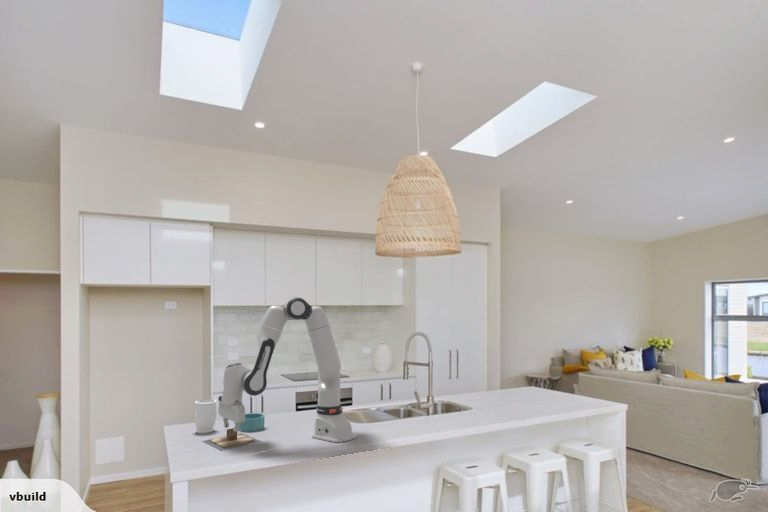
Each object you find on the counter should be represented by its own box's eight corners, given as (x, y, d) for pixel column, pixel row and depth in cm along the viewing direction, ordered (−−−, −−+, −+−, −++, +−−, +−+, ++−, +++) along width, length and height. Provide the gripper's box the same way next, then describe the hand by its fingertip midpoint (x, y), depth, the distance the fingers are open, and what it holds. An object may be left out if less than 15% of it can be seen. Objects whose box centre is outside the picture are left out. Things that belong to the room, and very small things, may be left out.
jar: (206, 435, 236) (207, 403, 237) (189, 433, 239) (190, 402, 240) (220, 429, 246) (221, 399, 247) (203, 428, 249) (204, 398, 250)
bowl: (268, 429, 247) (269, 416, 247) (245, 434, 238) (245, 420, 238) (256, 424, 256) (256, 412, 257) (233, 429, 247) (233, 416, 248)
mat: (261, 442, 223) (261, 441, 223) (220, 451, 209) (220, 450, 210) (241, 434, 238) (241, 433, 238) (201, 442, 224) (201, 441, 224)
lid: (254, 441, 223) (254, 429, 224) (223, 448, 213) (223, 435, 214) (239, 435, 234) (239, 423, 235) (209, 441, 224) (209, 429, 224)
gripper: (249, 401, 220) (248, 432, 219) (229, 394, 235) (227, 424, 234) (236, 403, 216) (235, 435, 214) (216, 396, 231) (215, 426, 229)
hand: (231, 429), depth 224 cm, fingers open, 8 cm apart
